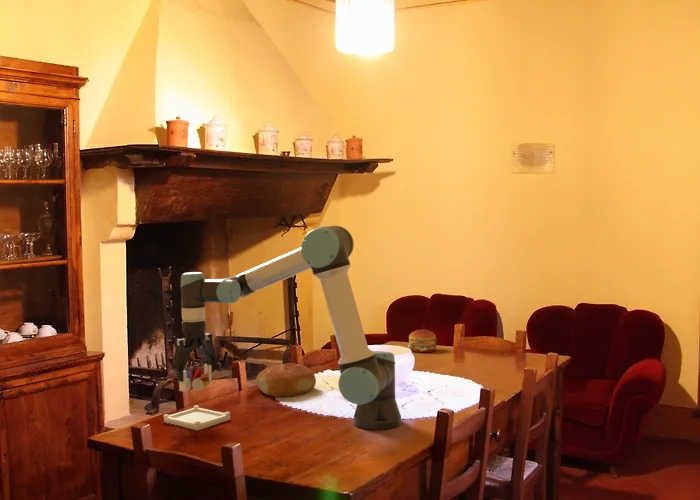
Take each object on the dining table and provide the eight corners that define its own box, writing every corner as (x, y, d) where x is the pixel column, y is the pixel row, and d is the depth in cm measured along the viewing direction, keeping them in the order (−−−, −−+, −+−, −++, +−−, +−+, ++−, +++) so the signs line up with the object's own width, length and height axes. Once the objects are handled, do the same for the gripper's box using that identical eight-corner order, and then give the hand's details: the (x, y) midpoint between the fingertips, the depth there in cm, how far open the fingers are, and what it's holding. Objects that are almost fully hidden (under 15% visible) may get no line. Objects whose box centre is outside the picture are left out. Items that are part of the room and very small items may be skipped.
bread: (243, 396, 286) (242, 369, 285) (273, 382, 308) (272, 357, 307) (299, 401, 277) (298, 373, 277) (326, 386, 299) (325, 360, 298)
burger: (406, 353, 358) (406, 332, 357) (409, 347, 371) (409, 327, 371) (436, 354, 356) (435, 332, 355) (437, 348, 369) (437, 327, 369)
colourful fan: (204, 392, 249) (203, 369, 248) (176, 391, 251) (175, 369, 250) (214, 385, 257) (213, 364, 257) (186, 385, 259) (185, 363, 259)
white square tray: (231, 419, 255) (230, 412, 255) (197, 430, 244) (197, 423, 244) (196, 412, 265) (196, 405, 265) (162, 422, 254) (162, 415, 253)
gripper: (211, 314, 264) (213, 379, 265) (158, 323, 245) (160, 393, 247) (227, 316, 259) (228, 382, 261) (174, 325, 241) (176, 396, 242)
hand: (195, 387), depth 254 cm, fingers closed on colourful fan, 10 cm apart
